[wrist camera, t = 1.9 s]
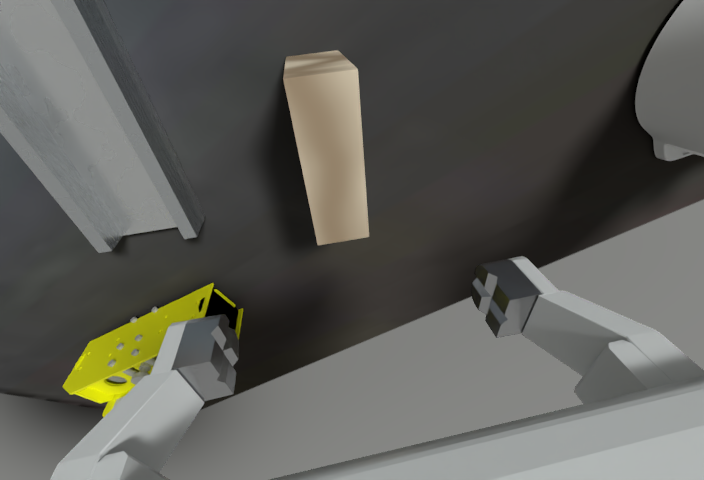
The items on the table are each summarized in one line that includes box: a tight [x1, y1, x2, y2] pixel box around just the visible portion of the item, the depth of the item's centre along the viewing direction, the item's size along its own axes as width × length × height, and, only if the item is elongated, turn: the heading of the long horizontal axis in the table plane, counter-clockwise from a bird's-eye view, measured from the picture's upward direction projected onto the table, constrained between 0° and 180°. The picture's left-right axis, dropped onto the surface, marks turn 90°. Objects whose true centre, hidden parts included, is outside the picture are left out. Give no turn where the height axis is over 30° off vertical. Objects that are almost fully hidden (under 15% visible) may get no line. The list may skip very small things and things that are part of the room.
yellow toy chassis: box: [63, 283, 243, 417], centre depth 30 cm, size 16×6×8 cm, turn 115°
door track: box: [0, 0, 206, 253], centre depth 19 cm, size 8×20×3 cm, turn 5°
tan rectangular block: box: [283, 50, 369, 245], centre depth 20 cm, size 4×10×8 cm, turn 5°
